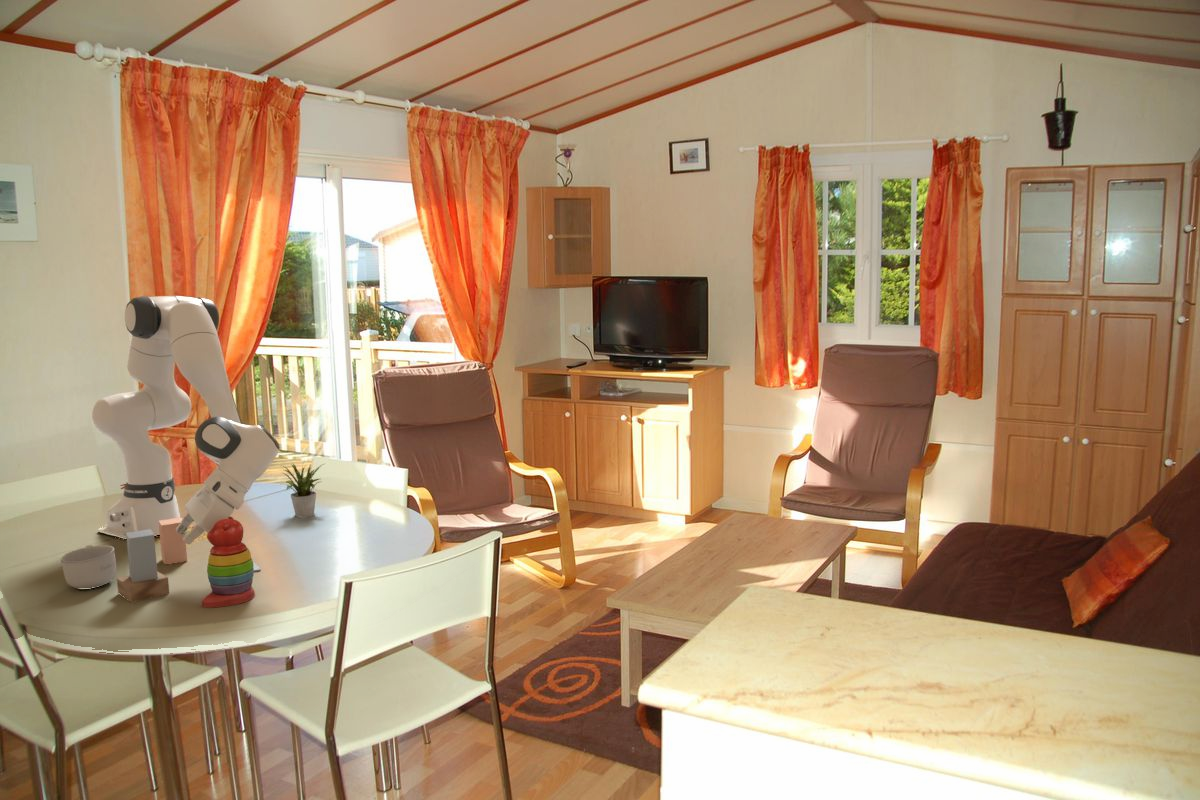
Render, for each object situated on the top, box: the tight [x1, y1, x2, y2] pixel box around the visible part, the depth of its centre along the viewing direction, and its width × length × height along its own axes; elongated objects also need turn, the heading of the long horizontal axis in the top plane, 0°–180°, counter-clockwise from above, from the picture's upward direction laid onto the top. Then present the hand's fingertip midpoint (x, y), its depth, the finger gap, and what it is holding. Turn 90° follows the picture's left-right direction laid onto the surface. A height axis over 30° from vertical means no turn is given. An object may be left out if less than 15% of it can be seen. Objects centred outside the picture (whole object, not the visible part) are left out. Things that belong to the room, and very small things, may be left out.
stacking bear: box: [201, 515, 256, 608], centre depth 201 cm, size 11×10×18 cm
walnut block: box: [116, 570, 170, 604], centre depth 206 cm, size 8×8×4 cm
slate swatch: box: [253, 562, 261, 573], centre depth 221 cm, size 6×6×1 cm
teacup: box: [60, 544, 117, 589], centre depth 213 cm, size 14×11×8 cm
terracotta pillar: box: [158, 517, 188, 565], centre depth 229 cm, size 5×5×10 cm
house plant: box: [280, 459, 326, 518], centre depth 268 cm, size 14×14×16 cm
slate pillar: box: [126, 529, 158, 583], centre depth 205 cm, size 5×5×10 cm
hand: (182, 537), depth 210 cm, fingers open, 8 cm apart
